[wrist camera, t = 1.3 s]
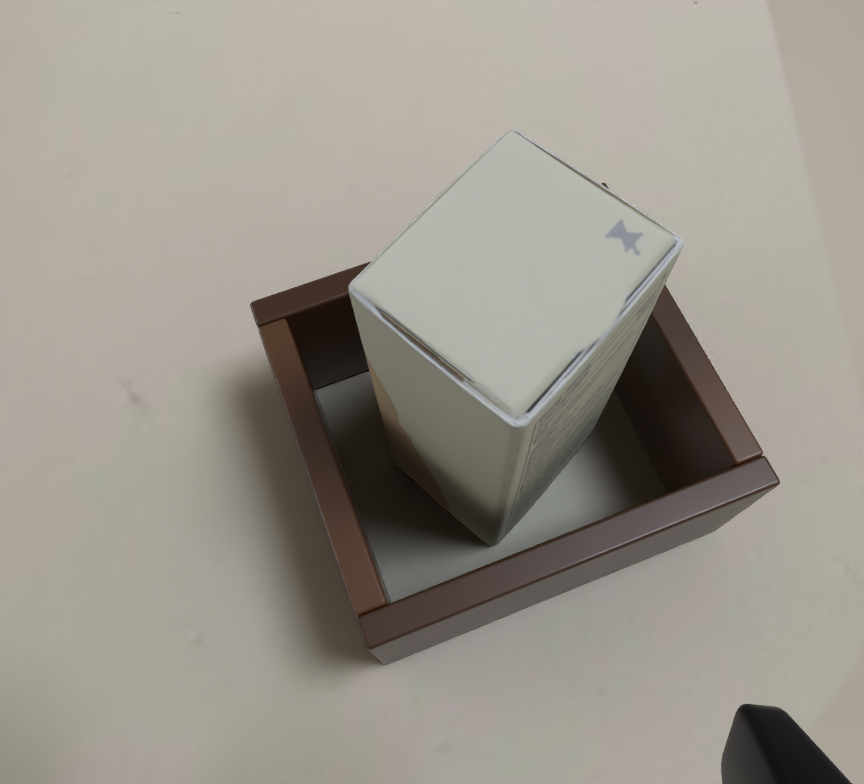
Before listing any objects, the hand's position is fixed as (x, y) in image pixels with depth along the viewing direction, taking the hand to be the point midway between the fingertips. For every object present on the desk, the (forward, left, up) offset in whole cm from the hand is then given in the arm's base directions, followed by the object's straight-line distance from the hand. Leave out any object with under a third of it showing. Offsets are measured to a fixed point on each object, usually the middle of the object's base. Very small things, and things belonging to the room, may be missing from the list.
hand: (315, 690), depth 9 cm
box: (+6, -5, -14) cm, 17 cm away
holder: (+6, -5, -14) cm, 16 cm away
